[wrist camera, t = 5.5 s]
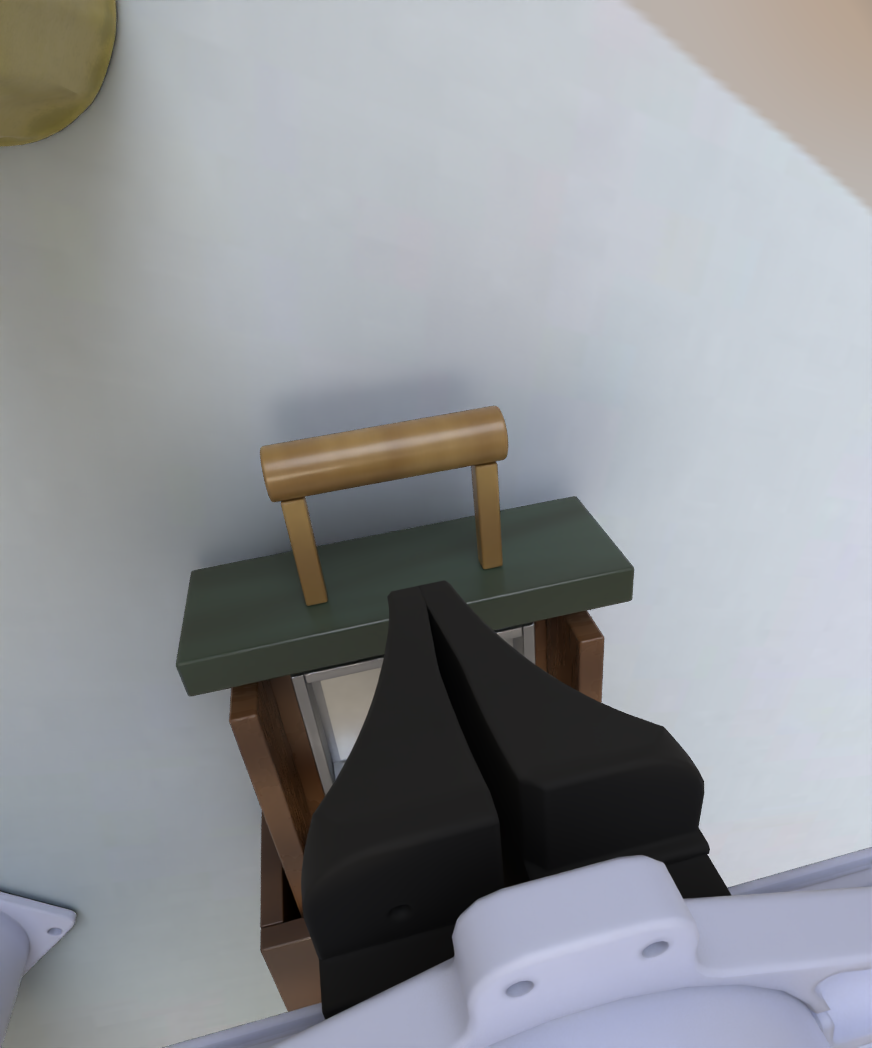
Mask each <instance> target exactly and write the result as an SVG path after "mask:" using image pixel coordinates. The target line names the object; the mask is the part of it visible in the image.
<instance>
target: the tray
mask: <svg viewBox="0 0 872 1048" xmlns="http://www.w3.org/2000/svg"><path fill="white" fill-rule="evenodd" d="M494 631H495V632H496V633H497V634H498V635H499V636H500V637H501V638H502V639H504V640H505V641H506V642H507V643H508V644H510V645H511V646H512V647H513V648H514V649H516V650H517V651H518V652H519V653H521V654H522V655H523V656H524V657H526V658H527V659H528V660H530V661H531V662H532V663H534V664H535V665H536V657H535V624H534V622H531V623H527V624H522V625H517V626H513V627H508V628H504V629H499V630H494ZM383 659H384V655H379V656H375V657H370V658H366V659H361V660H356V661H352V662H347V663H343V664H338V665H333V666H329V667H324V668H320V669H315V670H311V671H306V672H301V673H297V674H292V675H290V677H291V681H292V685H293V688H294V692H295V695H296V699H297V702H298V706H299V709H300V713H301V716H302V720H303V723H304V727H305V730H306V733H307V737H308V740H309V744H310V747H311V751H312V754H313V758H314V761H315V765H316V768H317V772H318V775H319V779H320V782H321V786H322V789H323V793H324V796H325V795H326V794H327V792H328V791H329V789H330V788H331V786H332V785H333V783H334V782H335V780H336V778H337V776H338V775H339V773H340V771H341V769H342V767H343V765H344V763H345V762H346V760H347V758H348V756H349V754H350V752H351V750H352V748H353V746H354V744H355V742H356V740H357V738H358V736H359V733H360V731H361V728H362V726H363V724H364V721H365V719H366V716H367V714H368V711H369V708H370V705H371V702H372V700H373V696H374V693H375V690H376V687H377V683H378V679H379V675H380V671H381V667H382V663H383Z"/></svg>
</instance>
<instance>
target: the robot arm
mask: <svg viewBox="0 0 872 1048" xmlns="http://www.w3.org/2000/svg"><path fill="white" fill-rule="evenodd" d="M387 598H388V604H389V625H388V635H387V641H386V648H385V654H384V659H383V663H382V667H381V671H380V675H379V679H378V683H377V687H376V690H375V693H374V696H373V700H372V702H371V705H370V708H369V711H368V714H367V716H366V719H365V721H364V724H363V726H362V728H361V731H360V733H359V736H358V738H357V740H356V742H355V744H354V746H353V748H352V750H351V752H350V754H349V756H348V758H347V760H346V762H345V763H344V765H343V767H342V769H341V771H340V773H339V775H338V776H337V778H336V780H335V782H334V783H333V785H332V786H331V788H330V789H329V791H328V792H327V794H326V795H325V797H324V798H323V800H322V801H321V803H320V804H319V806H318V807H317V809H316V811H315V812H314V813H313V815H312V819H311V823H310V827H309V831H308V836H307V840H306V845H305V850H304V856H303V863H302V874H301V894H302V908H303V916H304V921H305V923H306V926H307V929H308V932H309V934H310V937H311V940H312V942H313V945H314V948H315V951H316V953H317V956H318V959H319V971H320V987H321V1003H318V1004H314V1005H311V1006H307V1007H304V1008H300V1009H297V1010H293V1011H290V1012H286V1013H283V1014H279V1015H275V1016H272V1017H268V1018H265V1019H261V1020H258V1021H254V1022H251V1023H247V1024H244V1025H240V1026H237V1027H233V1028H229V1029H226V1030H222V1031H219V1032H215V1033H212V1034H208V1035H205V1036H201V1037H198V1038H194V1039H191V1040H187V1041H183V1042H180V1043H176V1044H173V1045H169V1046H166V1047H162V1048H872V847H870V848H866V849H863V850H859V851H856V852H852V853H848V854H845V855H841V856H838V857H834V858H831V859H827V860H824V861H820V862H817V863H813V864H810V865H806V866H803V867H799V868H795V869H792V870H788V871H785V872H781V873H778V874H774V875H771V876H767V877H764V878H760V879H757V880H753V881H749V882H746V883H742V884H739V885H735V886H732V887H728V888H727V887H726V885H725V883H724V882H723V880H722V878H721V877H720V875H719V873H718V872H717V870H716V868H715V867H714V865H713V863H712V862H711V860H710V858H709V857H708V855H707V854H709V851H710V848H709V845H708V842H707V841H706V839H705V838H704V836H703V834H702V833H701V831H700V829H699V828H698V826H699V821H700V815H701V809H702V803H703V797H704V780H703V778H702V776H701V774H700V772H699V770H698V769H697V767H696V766H695V764H694V763H693V761H692V760H691V758H690V757H689V756H688V754H687V753H686V752H685V751H684V749H683V748H682V747H681V746H680V745H679V743H678V742H677V741H676V740H675V739H674V738H673V737H672V735H671V734H670V733H669V732H668V731H667V730H666V729H665V728H664V727H663V726H660V725H657V724H654V723H651V722H649V721H646V720H643V719H640V718H637V717H634V716H632V715H629V714H626V713H623V712H621V711H619V710H616V709H614V708H612V707H610V706H607V705H605V704H603V703H601V702H598V701H596V700H594V699H592V698H590V697H588V696H586V695H585V694H583V693H581V692H579V691H577V690H575V689H573V688H572V687H570V686H568V685H566V684H564V683H563V682H561V681H559V680H558V679H556V678H555V677H553V676H551V675H550V674H548V673H547V672H545V671H544V670H542V669H541V668H540V667H538V666H537V665H535V664H534V663H532V662H531V661H530V660H528V659H527V658H526V657H524V656H523V655H522V654H521V653H519V652H518V651H517V650H516V649H514V648H513V647H512V646H511V645H510V644H508V643H507V642H506V641H505V640H504V639H502V638H501V637H500V636H499V635H498V634H497V633H496V632H495V631H494V630H493V629H492V628H490V627H489V626H488V625H487V624H486V623H485V622H484V621H483V620H482V619H481V618H480V617H479V616H478V615H477V614H476V613H475V612H474V611H473V610H472V609H471V608H470V607H469V606H468V604H467V603H466V602H465V601H464V600H463V599H462V598H461V597H460V595H459V594H458V593H457V592H456V591H455V589H454V588H453V587H452V586H451V584H450V583H448V582H447V581H445V580H443V581H438V582H433V583H429V584H424V585H419V586H414V587H409V588H405V589H400V590H395V591H391V592H390V594H389V595H388V596H387ZM75 921H76V913H75V912H74V911H72V910H69V909H65V908H62V907H58V906H54V905H50V904H46V903H42V902H39V901H35V900H31V899H27V898H23V897H19V896H16V895H12V894H8V893H4V892H0V1048H2V1046H3V1042H4V1039H5V1035H6V1032H7V1028H8V1025H9V1021H10V1018H11V1014H12V1011H13V1007H14V1004H15V1000H16V997H17V993H18V990H19V986H20V983H21V979H22V976H23V975H24V974H25V973H26V972H28V971H29V970H30V969H31V968H32V967H33V966H34V965H35V964H36V963H37V962H38V961H39V960H40V959H41V958H42V957H43V956H44V955H45V954H46V953H47V952H48V951H49V950H50V949H51V948H52V947H53V946H54V945H55V944H56V943H57V942H58V941H59V940H60V939H61V938H62V937H63V936H64V935H65V934H66V933H67V932H68V931H69V930H70V929H71V928H72V927H73V926H74V924H75Z"/></svg>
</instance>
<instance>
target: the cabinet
mask: <svg viewBox="0 0 872 1048" xmlns="http://www.w3.org/2000/svg"><path fill="white" fill-rule="evenodd" d="M260 927H261V946H260V950H261V953H262V955H263V957H264V959H265V962H266V964H267V966H268V968H269V970H270V973H271V975H272V977H273V979H274V982H275V984H276V986H277V988H278V990H279V993H280V995H281V997H282V999H283V1002H284V1004H285V1006H286V1008H287V1010H288V1012H290V1011H293V1010H297V1009H300V1008H304V1007H307V1006H311V1005H314V1004H318V1003H321V987H320V971H319V959H318V956H317V953H316V951H315V948H314V945H313V942H312V940H311V937H310V934H309V932H308V929H307V926H306V923H305V921H304V917H303V918H302V917H301V914H300V912H299V909H298V906H297V904H296V901H295V898H294V895H293V893H292V890H291V887H290V885H289V882H288V879H287V877H286V874H285V871H284V868H283V866H282V863H281V860H280V858H279V855H278V852H277V850H276V847H275V844H274V841H273V839H272V836H271V833H270V831H269V828H268V825H267V823H266V820H265V817H264V814H263V812H262V817H261V923H260Z"/></svg>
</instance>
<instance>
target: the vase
mask: <svg viewBox="0 0 872 1048" xmlns="http://www.w3.org/2000/svg"><path fill="white" fill-rule="evenodd" d="M115 34H116V1H115V0H0V146H16V145H24V144H28V143H33V142H36V141H39V140H42V139H44V138H47V137H49V136H51V135H53V134H55V133H57V132H59V131H61V130H62V129H63V128H65V127H66V126H68V125H69V124H70V123H72V122H73V121H74V120H75V119H76V118H77V117H78V116H79V115H80V114H82V113H83V112H84V111H85V109H86V108H87V107H88V106H89V105H90V104H91V103H92V102H93V100H94V98H95V97H96V95H97V93H98V92H99V90H100V87H101V85H102V82H103V80H104V77H105V75H106V72H107V68H108V65H109V62H110V58H111V54H112V50H113V45H114V41H115Z"/></svg>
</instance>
